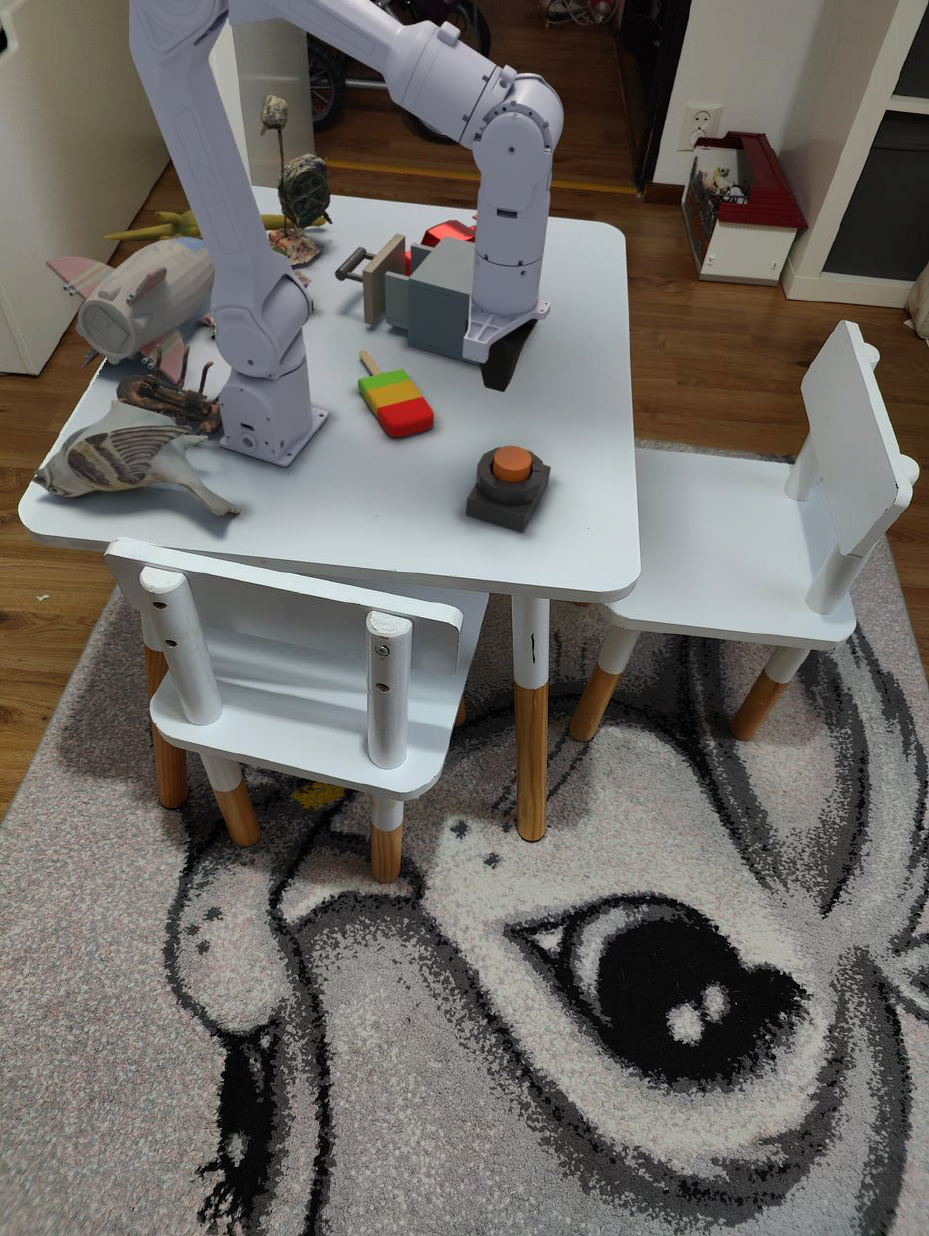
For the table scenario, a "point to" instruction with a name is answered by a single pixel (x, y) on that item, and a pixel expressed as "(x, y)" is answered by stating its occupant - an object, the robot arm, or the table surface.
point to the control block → (506, 494)
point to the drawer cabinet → (441, 299)
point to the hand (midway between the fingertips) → (496, 385)
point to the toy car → (439, 231)
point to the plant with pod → (296, 191)
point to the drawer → (385, 279)
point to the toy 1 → (193, 227)
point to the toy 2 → (172, 397)
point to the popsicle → (395, 400)
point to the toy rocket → (139, 300)
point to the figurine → (127, 457)
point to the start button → (512, 464)
